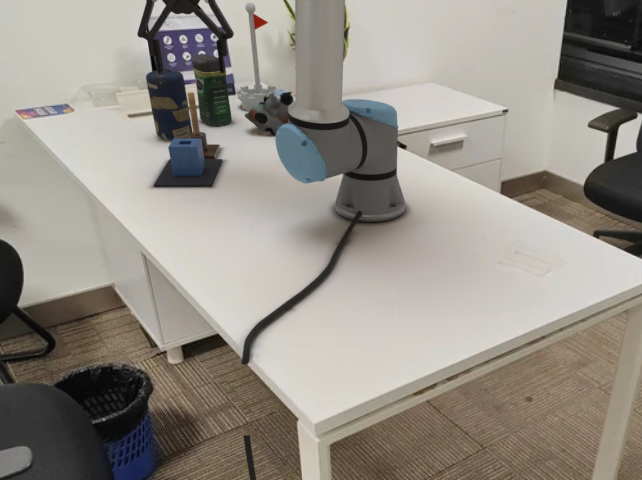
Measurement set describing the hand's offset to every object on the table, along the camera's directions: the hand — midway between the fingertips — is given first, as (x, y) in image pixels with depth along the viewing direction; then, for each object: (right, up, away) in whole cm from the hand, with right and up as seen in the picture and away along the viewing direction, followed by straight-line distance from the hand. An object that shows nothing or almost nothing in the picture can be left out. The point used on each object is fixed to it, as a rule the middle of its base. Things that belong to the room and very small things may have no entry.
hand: (192, 71), depth 156 cm
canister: (-17, -5, +34) cm, 38 cm away
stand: (-6, -12, +23) cm, 27 cm away
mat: (-4, -20, +11) cm, 24 cm away
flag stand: (0, +14, +63) cm, 64 cm away
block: (-4, -20, +11) cm, 23 cm away
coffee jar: (-9, +4, +48) cm, 49 cm away
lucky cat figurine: (+9, +1, +44) cm, 45 cm away
